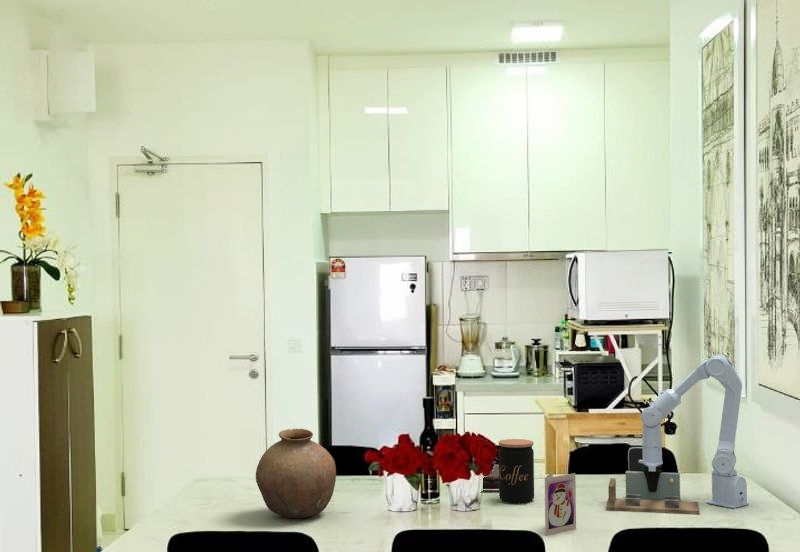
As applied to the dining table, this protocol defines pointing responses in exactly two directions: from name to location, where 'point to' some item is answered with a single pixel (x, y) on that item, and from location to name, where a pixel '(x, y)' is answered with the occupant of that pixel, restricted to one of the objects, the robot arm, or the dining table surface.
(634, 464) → the battery charger
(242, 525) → the dining table surface
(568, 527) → the greeting card
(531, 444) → the coffee jar
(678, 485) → the door panel
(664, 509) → the hinge rail
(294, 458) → the pottery
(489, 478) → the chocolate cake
